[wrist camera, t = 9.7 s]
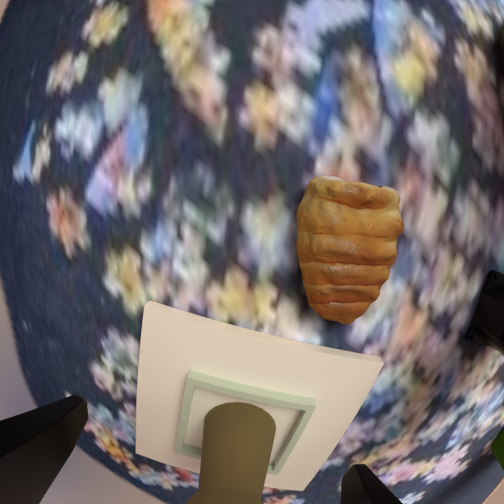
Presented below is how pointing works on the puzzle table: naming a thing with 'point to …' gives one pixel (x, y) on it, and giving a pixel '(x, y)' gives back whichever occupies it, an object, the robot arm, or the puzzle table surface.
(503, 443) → the wine bottle
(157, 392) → the cream flat square slab
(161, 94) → the puzzle table surface
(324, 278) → the pastry
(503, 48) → the dark grey round container
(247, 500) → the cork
